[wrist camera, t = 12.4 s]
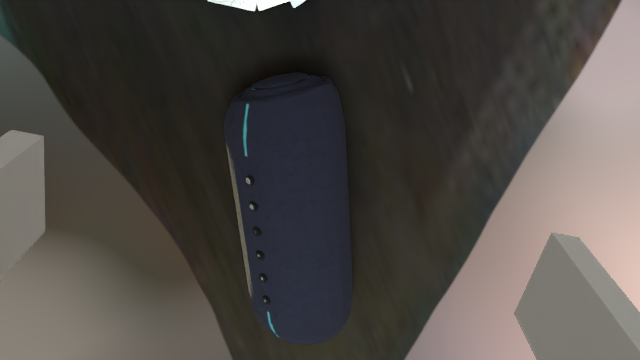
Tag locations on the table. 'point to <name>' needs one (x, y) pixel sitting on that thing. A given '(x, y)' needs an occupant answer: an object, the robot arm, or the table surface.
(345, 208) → the portable speaker
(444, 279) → the table surface
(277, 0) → the collar
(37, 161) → the robot arm
